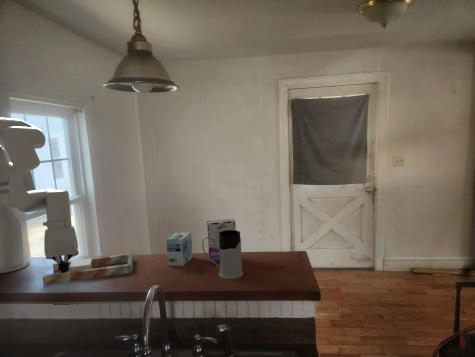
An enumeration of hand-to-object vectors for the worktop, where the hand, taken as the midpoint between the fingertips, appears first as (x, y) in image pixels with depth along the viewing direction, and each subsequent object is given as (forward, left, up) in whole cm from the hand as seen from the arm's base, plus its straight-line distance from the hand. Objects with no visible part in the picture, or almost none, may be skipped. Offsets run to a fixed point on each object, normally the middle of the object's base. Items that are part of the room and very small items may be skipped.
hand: (64, 272), depth 112 cm
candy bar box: (+58, -8, -2) cm, 59 cm away
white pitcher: (+55, -21, -2) cm, 59 cm away
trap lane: (+9, 0, -1) cm, 10 cm away
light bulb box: (+42, -2, -2) cm, 43 cm away
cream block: (+5, +2, -2) cm, 6 cm away
